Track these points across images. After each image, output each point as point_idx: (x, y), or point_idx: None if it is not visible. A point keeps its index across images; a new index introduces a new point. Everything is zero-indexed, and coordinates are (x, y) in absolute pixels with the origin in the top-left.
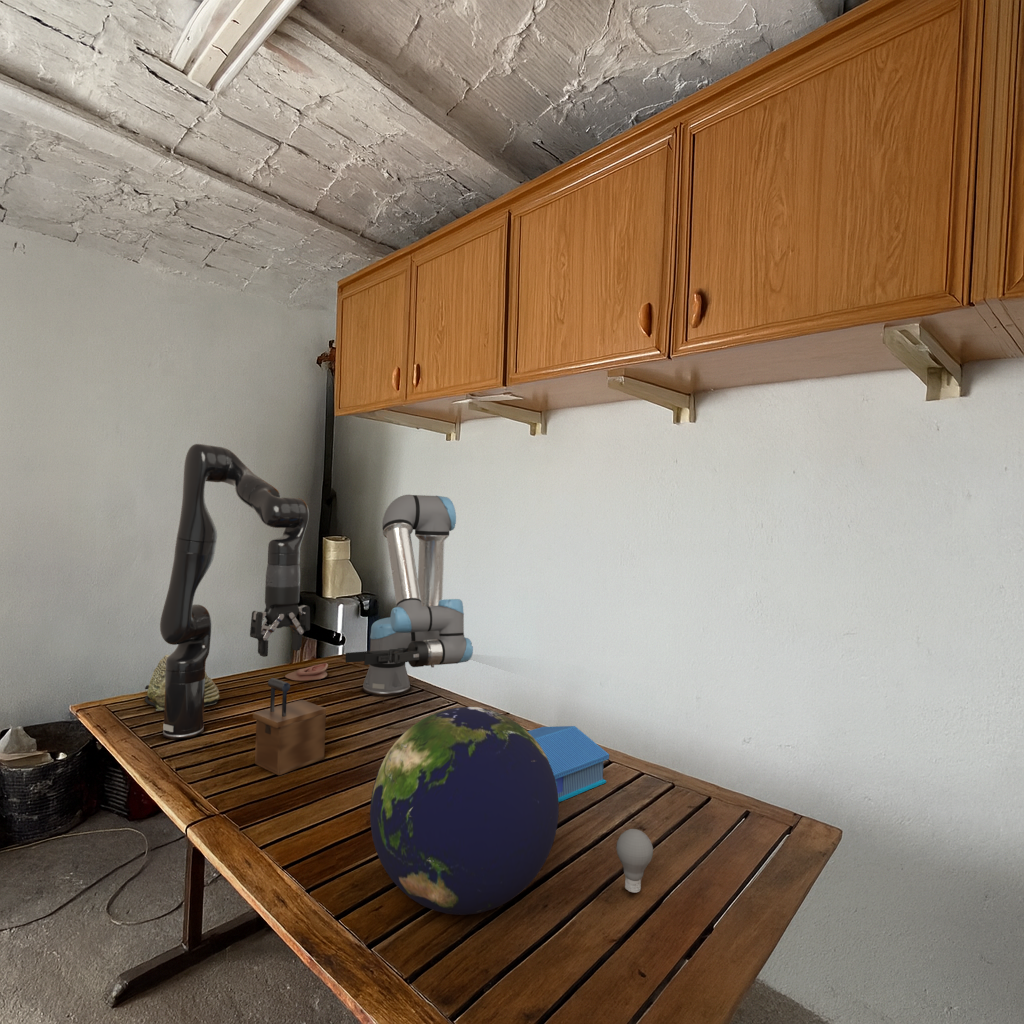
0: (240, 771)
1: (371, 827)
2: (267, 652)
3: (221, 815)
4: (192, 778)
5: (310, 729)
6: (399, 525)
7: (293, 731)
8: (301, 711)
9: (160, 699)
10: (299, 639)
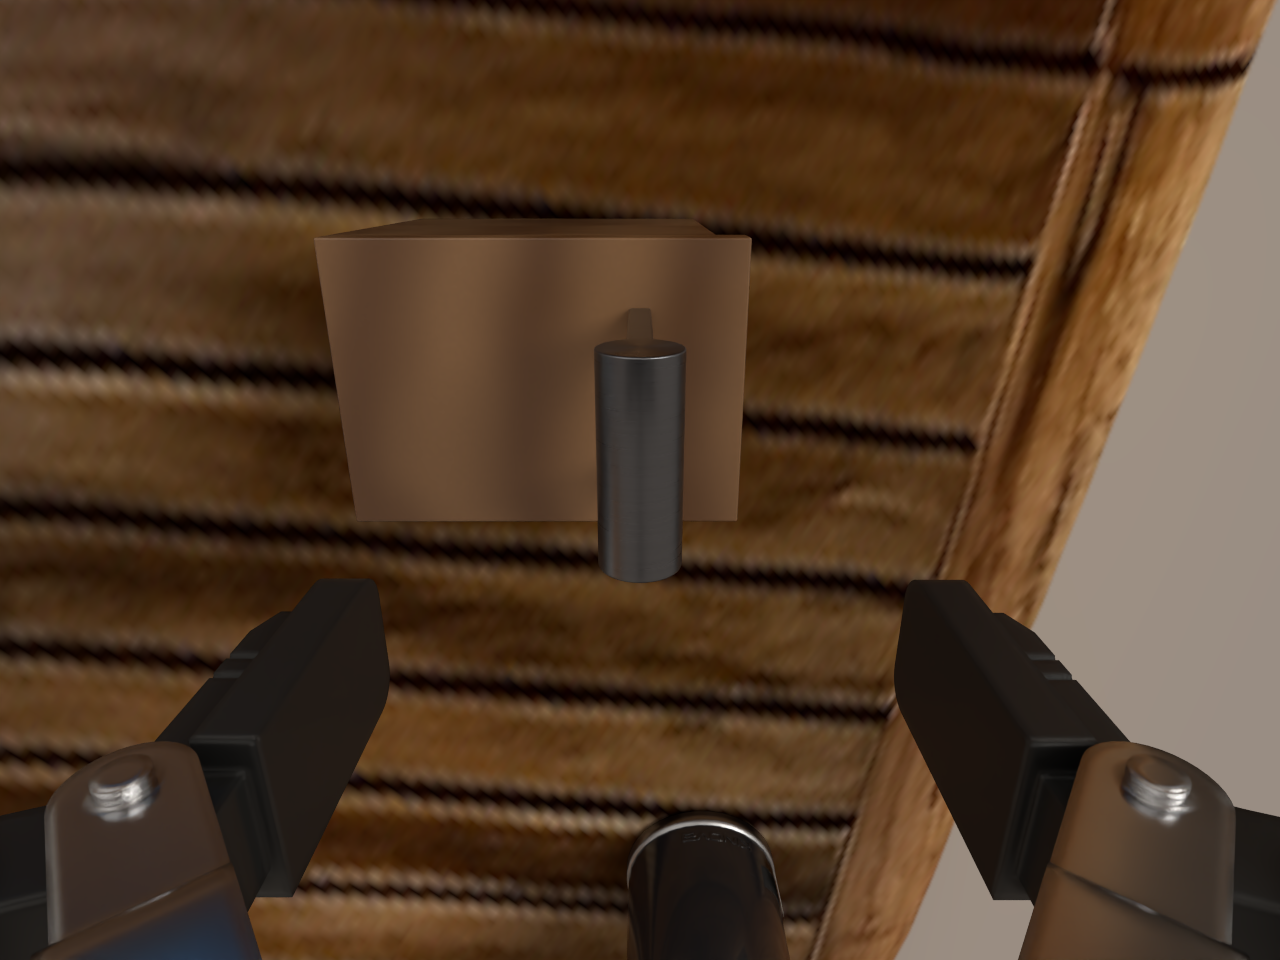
0: (775, 395)
1: None
2: (941, 601)
3: (1111, 42)
4: (937, 477)
5: (480, 229)
6: None
7: (611, 231)
8: (493, 312)
9: None
10: (260, 679)
